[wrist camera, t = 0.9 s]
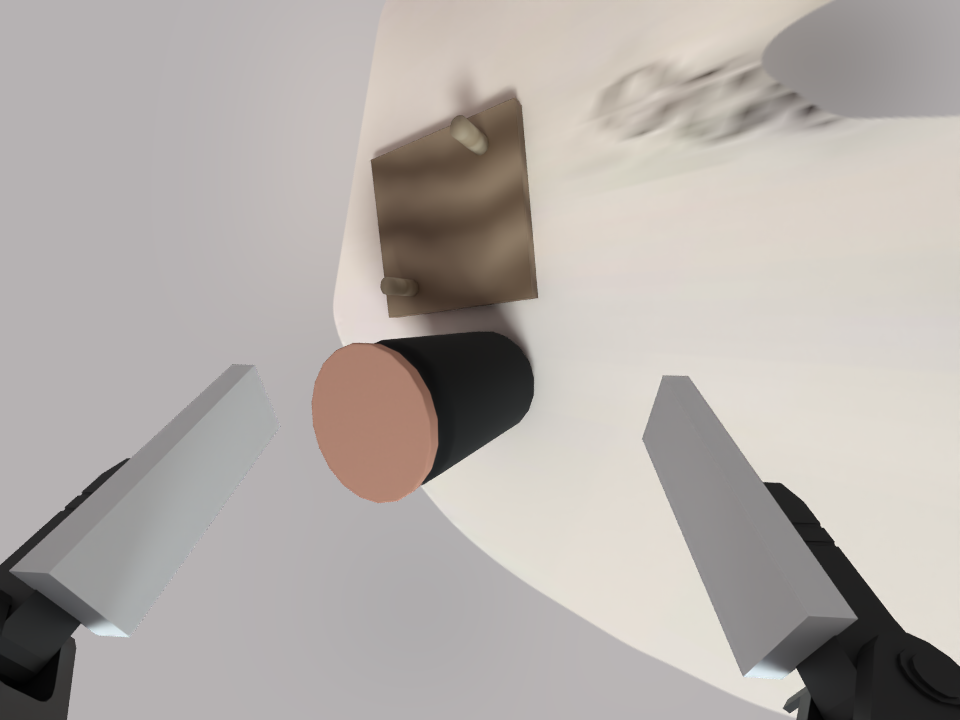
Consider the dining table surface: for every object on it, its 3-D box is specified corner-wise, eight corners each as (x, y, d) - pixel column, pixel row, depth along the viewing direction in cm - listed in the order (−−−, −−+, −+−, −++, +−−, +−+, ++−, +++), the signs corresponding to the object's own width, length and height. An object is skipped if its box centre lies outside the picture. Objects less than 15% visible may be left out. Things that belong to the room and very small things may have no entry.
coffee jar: (437, 395, 43) (296, 441, 28) (472, 312, 40) (333, 313, 24) (511, 448, 39) (395, 537, 24) (557, 362, 36) (457, 400, 20)
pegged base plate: (380, 164, 44) (342, 146, 39) (521, 105, 35) (495, 72, 30) (397, 317, 45) (363, 317, 40) (538, 297, 36) (515, 295, 31)
